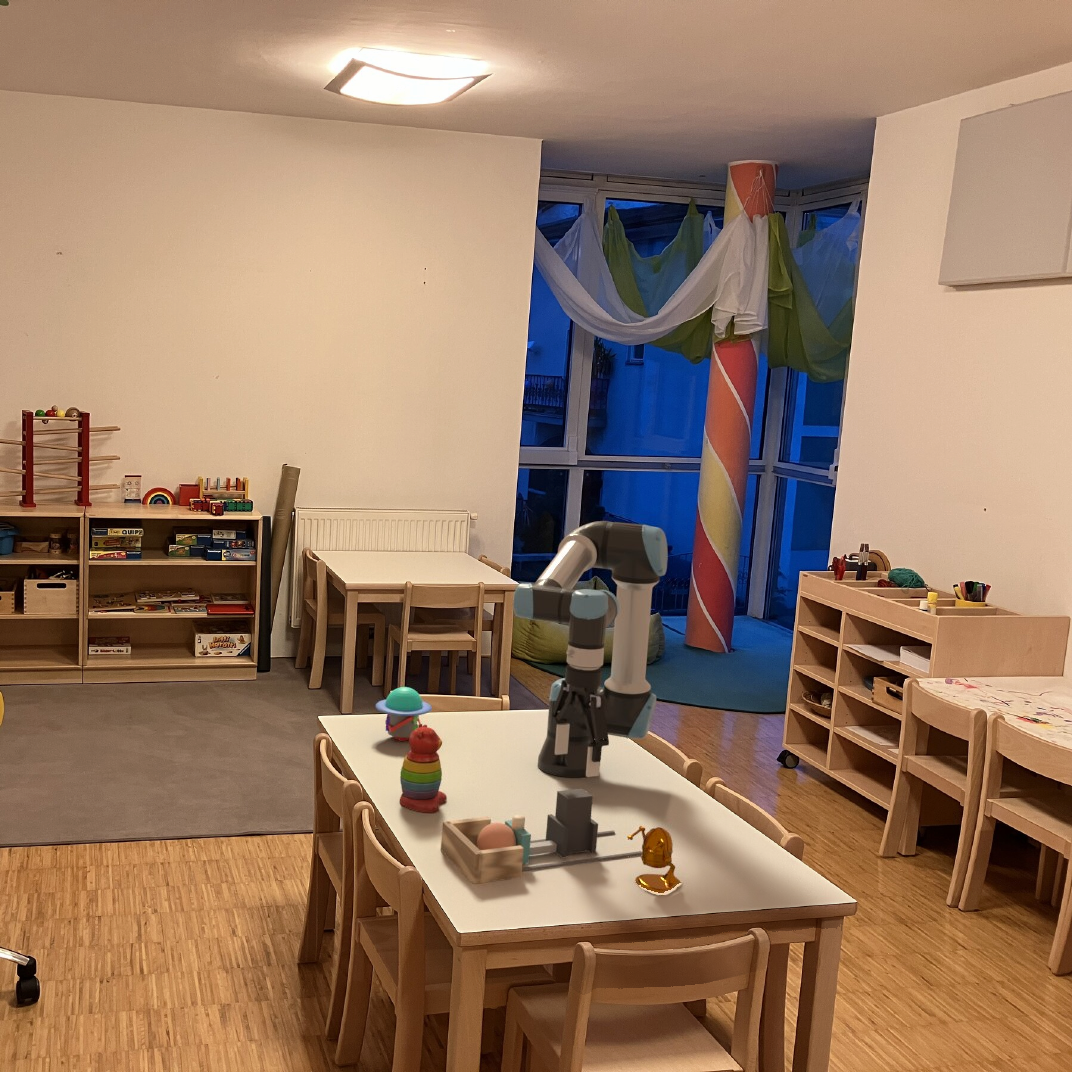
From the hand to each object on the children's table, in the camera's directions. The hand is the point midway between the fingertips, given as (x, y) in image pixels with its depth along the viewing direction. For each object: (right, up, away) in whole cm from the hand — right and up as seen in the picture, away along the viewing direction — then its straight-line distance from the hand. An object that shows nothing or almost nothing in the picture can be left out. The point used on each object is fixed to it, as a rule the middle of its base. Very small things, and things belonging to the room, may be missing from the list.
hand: (576, 764), depth 239 cm
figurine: (+15, -22, -11) cm, 29 cm away
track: (-2, -19, +2) cm, 19 cm away
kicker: (-5, -18, 0) cm, 19 cm away
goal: (-19, -18, -7) cm, 28 cm away
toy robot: (-44, -7, +68) cm, 81 cm away
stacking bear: (-35, -14, +23) cm, 44 cm away
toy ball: (-17, -19, -6) cm, 26 cm away
